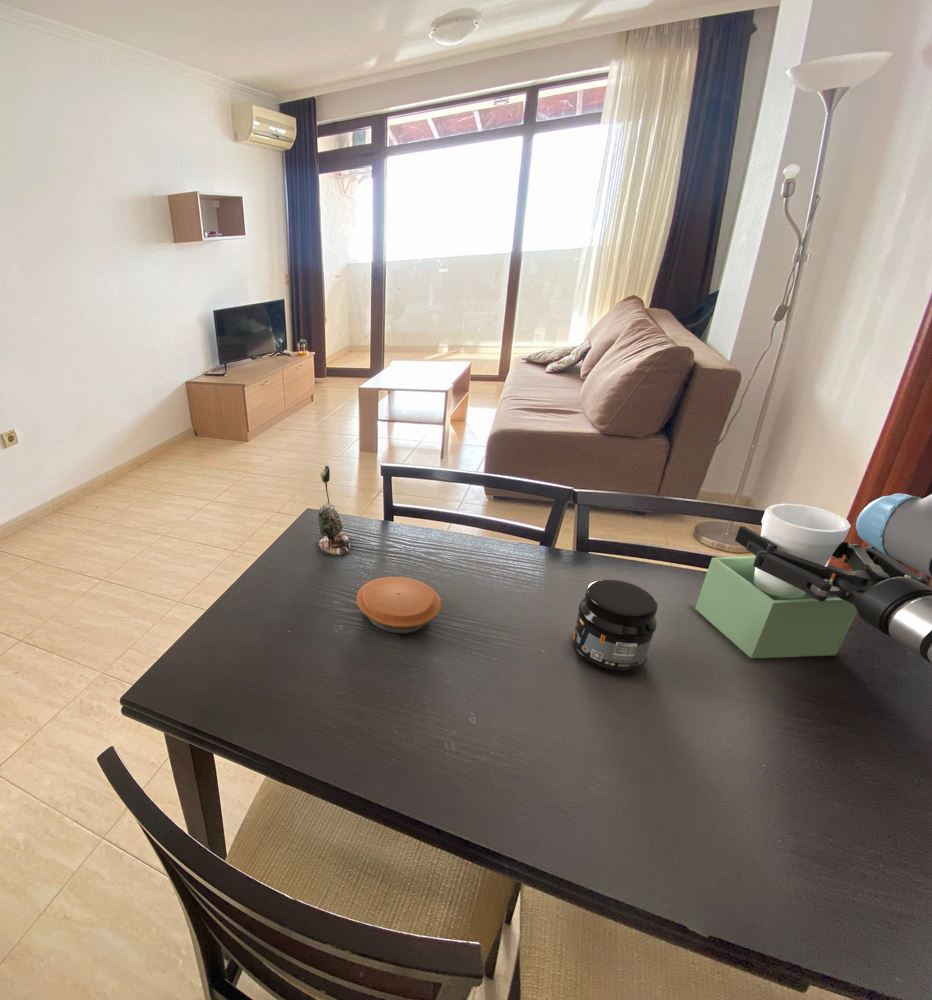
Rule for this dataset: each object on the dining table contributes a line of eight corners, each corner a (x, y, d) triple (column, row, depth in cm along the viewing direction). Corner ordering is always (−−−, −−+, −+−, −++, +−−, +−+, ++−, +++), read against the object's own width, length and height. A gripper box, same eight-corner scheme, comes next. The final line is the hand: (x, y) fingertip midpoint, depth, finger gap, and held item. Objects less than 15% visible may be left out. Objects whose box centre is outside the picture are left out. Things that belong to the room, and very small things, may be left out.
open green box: (769, 605, 97) (790, 553, 93) (836, 655, 86) (863, 599, 81) (694, 608, 98) (711, 557, 93) (750, 658, 86) (773, 602, 82)
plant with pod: (308, 557, 124) (304, 477, 115) (325, 534, 133) (323, 459, 124) (342, 563, 121) (340, 482, 112) (357, 539, 130) (357, 462, 121)
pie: (369, 585, 112) (369, 564, 110) (446, 600, 106) (447, 579, 104) (346, 630, 100) (345, 608, 98) (431, 650, 93) (433, 627, 91)
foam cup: (756, 565, 94) (781, 498, 88) (827, 590, 86) (860, 518, 81) (731, 584, 89) (755, 515, 84) (803, 612, 82) (835, 538, 77)
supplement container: (597, 627, 96) (611, 570, 90) (659, 663, 87) (678, 602, 82) (556, 647, 92) (568, 589, 87) (616, 687, 83) (633, 625, 78)
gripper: (814, 643, 71) (696, 554, 91) (996, 636, 69) (835, 547, 89) (835, 596, 67) (708, 515, 87) (1026, 588, 66) (852, 507, 86)
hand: (772, 531), depth 88 cm, fingers open, 10 cm apart
